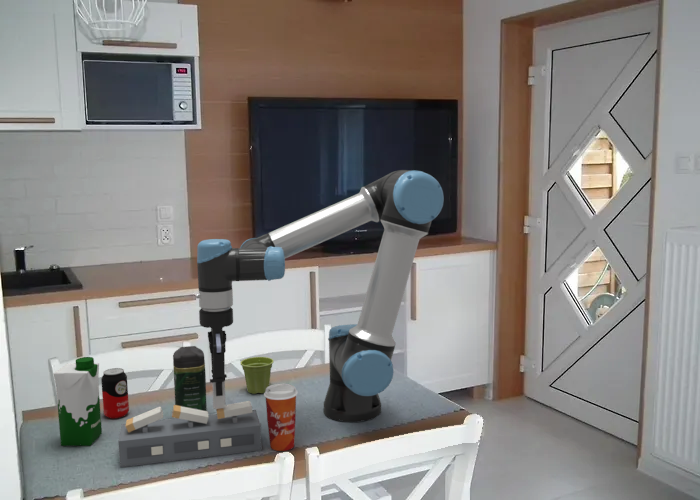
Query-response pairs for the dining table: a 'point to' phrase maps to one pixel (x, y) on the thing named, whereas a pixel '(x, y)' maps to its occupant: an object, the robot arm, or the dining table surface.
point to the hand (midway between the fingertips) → (219, 407)
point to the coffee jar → (190, 378)
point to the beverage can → (115, 393)
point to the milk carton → (78, 402)
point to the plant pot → (257, 373)
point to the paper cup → (281, 415)
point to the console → (189, 439)
